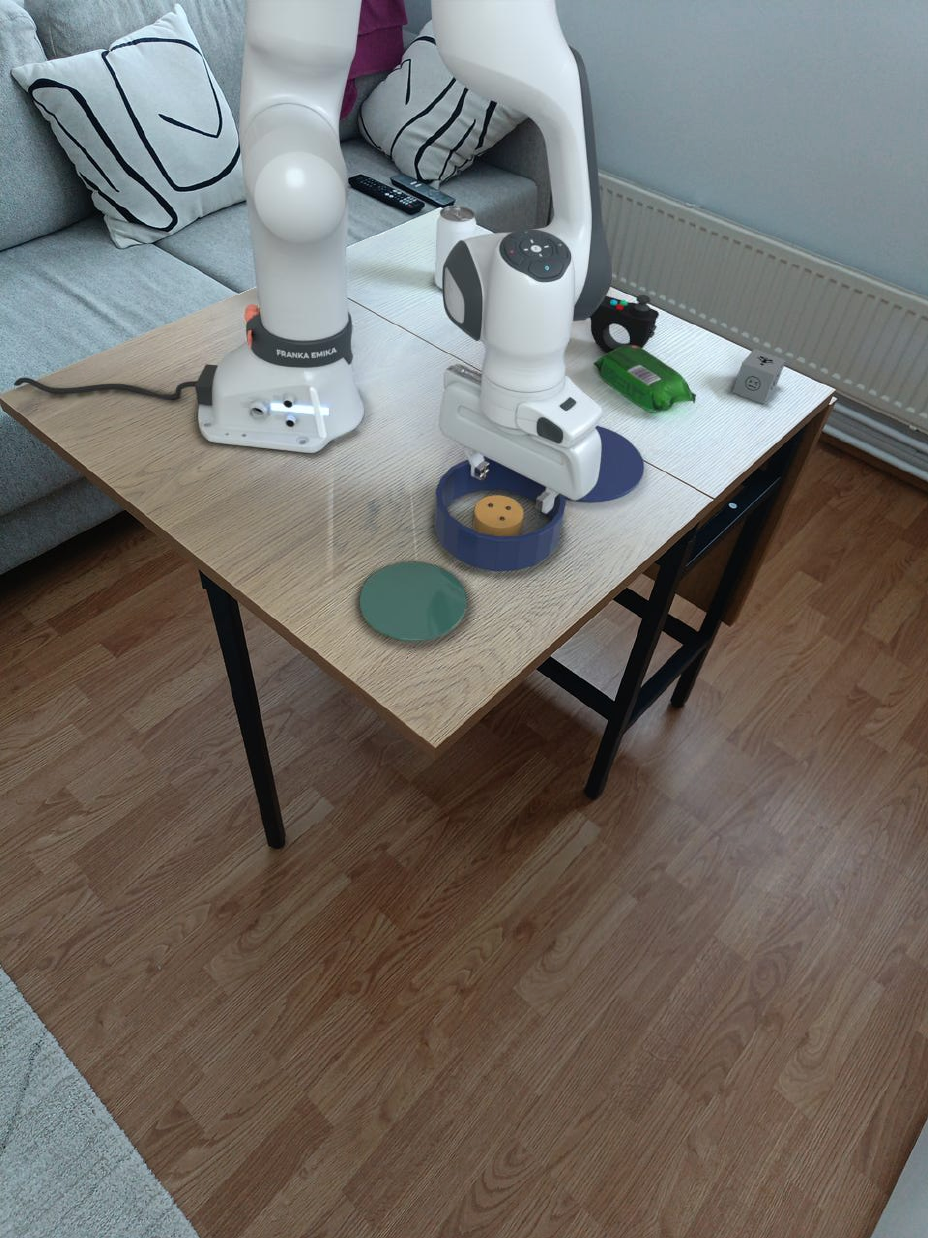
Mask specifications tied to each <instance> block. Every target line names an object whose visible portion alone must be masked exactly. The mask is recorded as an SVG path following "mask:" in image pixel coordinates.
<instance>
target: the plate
mask: <svg viewBox="0 0 928 1238" xmlns="http://www.w3.org/2000/svg"><path fill="white" fill-rule="evenodd" d="M467 600H468V599H467V594H466V591H465V589H464V587H463V585H462V583H461V582H460V581H459V580H458V578H456V576H455V575H453V574H452V573H451V572H449V571H448V570H446V569H444V568H442V567H440V566H438V565H434V564H432V563H427V562H422V561H402V562H398V563H397V562H396V563H394V564H389V565H387V566H384V567H383V568H381V569H379V570H377V571H376V572H375V573H373V574H372V575H371V576H369V578H368V579H367V580H366V582H365V583H364V584H363V586H362V588H361V590H360V594H359V607H360V608H359V609H360V611H361V613H362V616H363V618H364V619H365V621H366V622H367V623H368V624H369V626H371V628H373V630H375V631H376V632H378V633H380V634H381V635H384V636H386V637H388V638H391V639H394V640H397V641H403V642H415V643H416V642H417V643H418V642H425V641H426V642H427V641H432V640H434V639H438V638H440V637H443V636H445V635H446V634H449V632H451V631H452V630H454V629H455V628H456V627H457V626H458V625H459V624H460V622H461V621H462V620H463V618H464V616H465V613H466V611H467V605H468V604H467Z"/></svg>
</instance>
